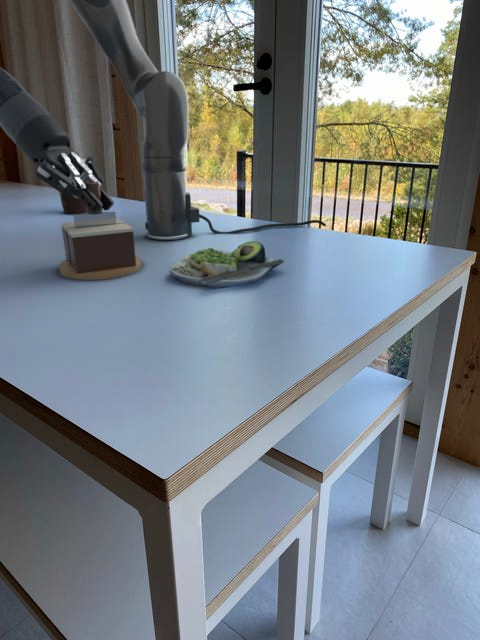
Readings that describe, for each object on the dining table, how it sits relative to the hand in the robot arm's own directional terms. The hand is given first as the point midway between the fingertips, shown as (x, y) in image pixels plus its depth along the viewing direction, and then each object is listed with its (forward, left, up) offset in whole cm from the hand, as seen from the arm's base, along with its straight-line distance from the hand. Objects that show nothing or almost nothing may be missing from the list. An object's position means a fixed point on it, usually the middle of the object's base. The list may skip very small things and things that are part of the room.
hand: (104, 208), depth 80 cm
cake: (+1, -2, -11) cm, 11 cm away
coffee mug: (-6, -62, -11) cm, 63 cm away
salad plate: (-17, +11, -11) cm, 23 cm away
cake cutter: (+1, -2, -8) cm, 8 cm away
